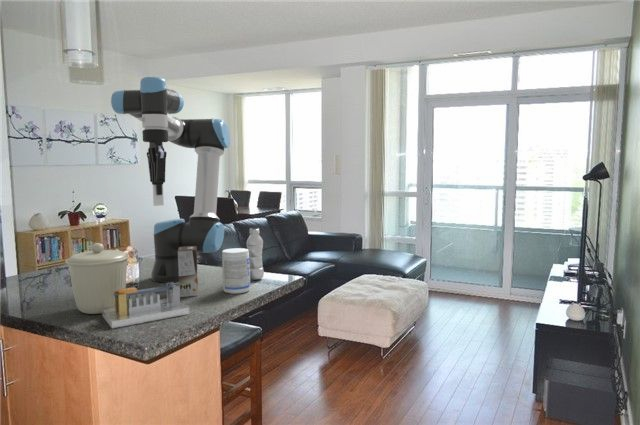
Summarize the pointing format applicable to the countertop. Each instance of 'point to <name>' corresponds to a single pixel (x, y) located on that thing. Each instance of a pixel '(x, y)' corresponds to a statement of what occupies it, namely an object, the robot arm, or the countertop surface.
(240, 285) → the supplement tub
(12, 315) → the countertop surface
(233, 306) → the countertop surface
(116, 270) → the canister
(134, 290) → the strap
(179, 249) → the coffee box
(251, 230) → the plastic bottle
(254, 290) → the countertop surface
